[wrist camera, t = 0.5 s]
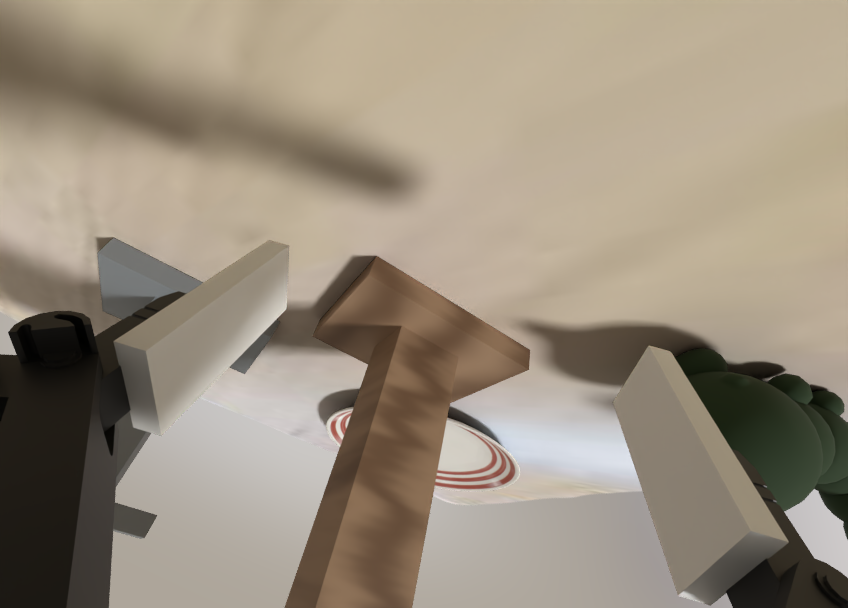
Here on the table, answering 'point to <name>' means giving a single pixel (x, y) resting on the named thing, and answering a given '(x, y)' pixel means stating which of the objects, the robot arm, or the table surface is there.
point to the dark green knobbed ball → (778, 429)
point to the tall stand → (392, 434)
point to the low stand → (122, 296)
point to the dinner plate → (456, 456)
